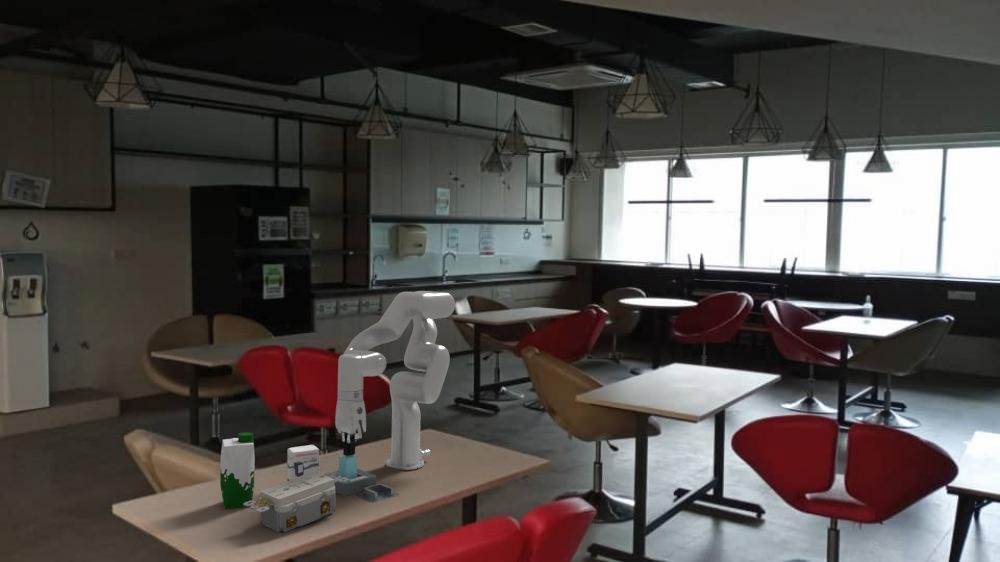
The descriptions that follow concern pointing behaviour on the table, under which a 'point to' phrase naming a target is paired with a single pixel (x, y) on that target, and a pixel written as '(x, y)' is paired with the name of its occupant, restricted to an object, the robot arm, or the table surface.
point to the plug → (348, 466)
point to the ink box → (302, 461)
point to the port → (355, 483)
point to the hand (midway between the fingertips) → (349, 454)
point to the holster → (377, 493)
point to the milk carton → (237, 470)
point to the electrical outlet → (297, 501)
